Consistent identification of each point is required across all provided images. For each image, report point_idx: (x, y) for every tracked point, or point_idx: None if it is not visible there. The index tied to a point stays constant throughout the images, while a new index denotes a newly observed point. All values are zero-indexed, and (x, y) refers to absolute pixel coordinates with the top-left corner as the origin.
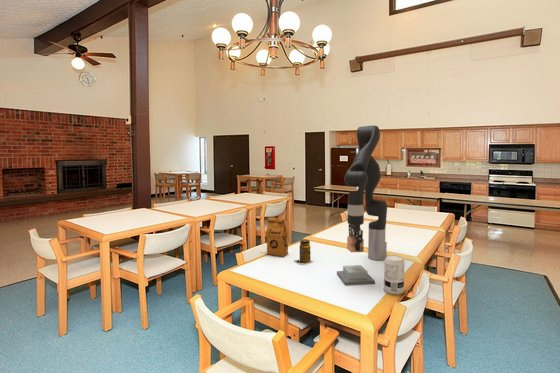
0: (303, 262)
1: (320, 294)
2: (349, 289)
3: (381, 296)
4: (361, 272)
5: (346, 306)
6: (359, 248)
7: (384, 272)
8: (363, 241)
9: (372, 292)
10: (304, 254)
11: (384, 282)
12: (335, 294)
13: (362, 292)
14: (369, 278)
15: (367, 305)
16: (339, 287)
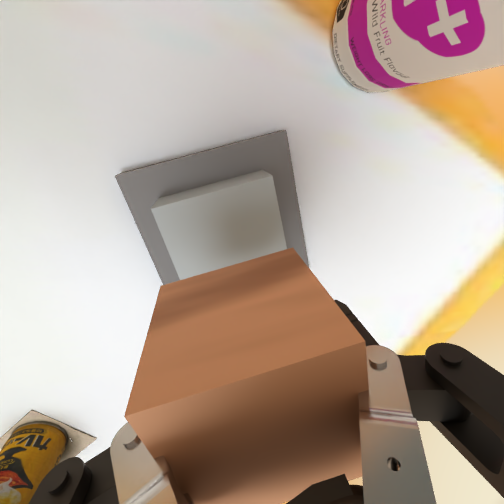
0: (66, 440)
1: (376, 339)
2: (343, 252)
3: (423, 119)
4: (279, 212)
5: (470, 261)
6: (348, 310)
7: (453, 74)
8: (343, 317)
9: (379, 157)
10: None
11: (408, 85)
12: (381, 297)
13: (375, 202)
14: (257, 157)
15: (481, 192)
16: None
